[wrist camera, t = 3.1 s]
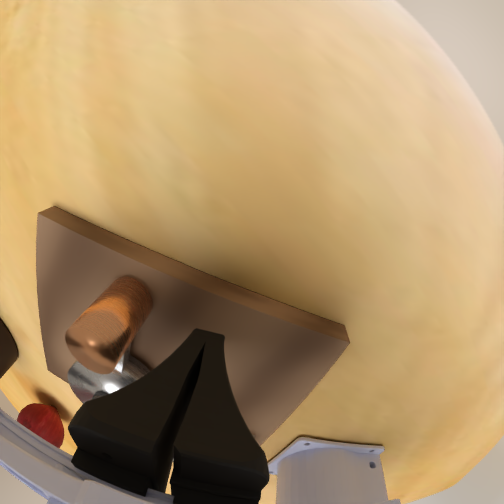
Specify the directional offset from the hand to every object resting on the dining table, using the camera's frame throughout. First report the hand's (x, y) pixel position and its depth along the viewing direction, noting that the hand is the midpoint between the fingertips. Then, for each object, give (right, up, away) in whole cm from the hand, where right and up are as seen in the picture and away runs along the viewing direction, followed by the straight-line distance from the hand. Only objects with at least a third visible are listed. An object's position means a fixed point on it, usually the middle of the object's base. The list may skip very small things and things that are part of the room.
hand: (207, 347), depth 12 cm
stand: (-4, -2, +4) cm, 6 cm away
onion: (-21, -13, +11) cm, 27 cm away
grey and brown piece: (-6, -2, +2) cm, 6 cm away
